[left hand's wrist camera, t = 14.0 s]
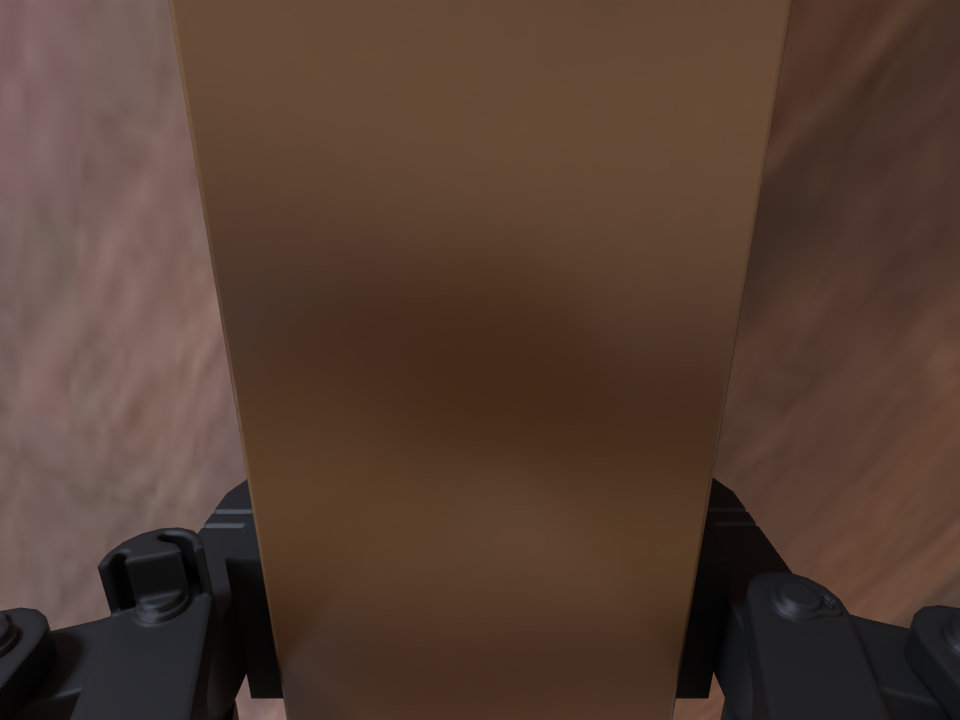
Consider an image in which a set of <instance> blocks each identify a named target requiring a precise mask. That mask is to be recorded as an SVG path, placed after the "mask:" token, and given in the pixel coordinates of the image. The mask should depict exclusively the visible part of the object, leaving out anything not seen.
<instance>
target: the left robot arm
mask: <svg viewBox="0 0 960 720" xmlns="http://www.w3.org/2000/svg"><path fill="white" fill-rule="evenodd" d="M98 570H99V573H100V577H101V580H102V583H103V587H104V590H105V594H106V597H107V601H108V604H109V608H110V611H111V616H110V617H107V618H104V619H101V620H97V621H93V622H89V623H84V624H80V625H76V626H71V627H67V628H63V629H58V630H54V631H51V630H50V627H49V624H48V621H47V618H46V616H44V615H43V614H42V613H41V612H39V611H38V610H36V609H28V608H16V609H10V610H4V611H0V720H239V718H238V711H237V705H236V701H235V698H236V696H237V694H238V691H239V689H240V687H241V685H242V682H243V680H244V678H245V675H246V673H247V678H248V683H249V688H250V693H251V698H283V692H282V686H281V680H280V674H279V668H278V662H277V656H276V650H275V644H274V637H273V631H272V625H271V619H270V613H269V607H268V601H267V595H266V589H265V583H264V577H263V571H262V565H261V559H260V552H259V546H258V540H257V534H256V528H255V522H254V516H253V510H252V504H251V498H250V492H249V486H248V480H245V481H244V482H243V483H241V484H240V485H238V486H237V487H235V488H234V489H233V490H231V491H230V492H228V493H227V494H226V495H225V497H224V498H223V499H222V501H221V502H220V504H219V505H218V506H217V508H216V509H215V512H214V514H212V515H211V516H210V517H209V519H208V520H207V522H206V523H205V524H204V528H202V529H201V530H200V531H199V533H198V534H197V533H196V532H194V531H192V530H188V529H184V528H163V529H158V530H154V531H150V532H147V533H143V534H140V535H138V536H136V537H134V538H131V539H129V540H127V541H125V542H123V543H121V544H120V545H119V546H117V547H116V548H115V549H113V550H112V551H111V552H109V553H108V554H107V555H106V556H105V557H104V559H103V560H102V561H101V563H100V564H99V565H98ZM713 671H714V673H715V676H716V678H717V680H718V683H719V685H720V687H721V689H722V692H723V694H724V696H725V701H724V705H723V710H722V715H721V720H960V608H954V607H948V606H941V605H937V606H929V607H923V608H922V609H920V610H919V611H918V612H917V613H915V614H914V617H913V620H912V623H911V626H910V629H908V628H903V627H899V626H895V625H890V624H886V623H882V622H877V621H873V620H869V619H864V618H861V617H857V616H854V615H851V614H849V613H848V611H847V610H846V608H845V607H844V605H843V604H842V602H841V601H840V599H839V598H837V597H836V596H835V595H834V594H833V593H831V592H830V591H829V590H828V589H827V588H825V587H823V586H822V585H820V584H818V583H816V582H814V581H812V580H810V579H808V578H806V577H802V576H799V575H795V574H793V573H792V572H791V571H790V569H789V568H788V566H787V565H786V564H785V562H784V561H783V560H782V558H781V557H780V555H779V554H778V553H777V551H776V550H775V549H774V547H773V546H772V544H771V543H770V542H769V540H768V539H767V538H766V536H765V535H764V533H763V532H762V531H761V529H760V528H759V527H758V526H756V522H755V521H754V520H753V518H752V517H751V516H750V514H749V513H748V512H746V510H745V507H744V506H743V505H742V503H741V502H740V500H739V499H738V498H737V496H736V495H735V494H734V492H733V491H731V490H730V489H729V488H727V487H726V486H724V485H723V484H721V483H720V482H718V481H717V480H716V479H714V478H713V479H712V485H711V491H710V497H709V503H708V509H707V515H706V521H705V527H704V533H703V539H702V545H701V551H700V557H699V563H698V569H697V575H696V581H695V587H694V593H693V599H692V605H691V611H690V617H689V623H688V629H687V635H686V641H685V646H684V652H683V658H682V664H681V670H680V676H679V682H678V688H677V694H676V698H708V697H709V691H710V686H711V681H712V676H713Z"/></svg>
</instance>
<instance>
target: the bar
mask: <svg viewBox="0 0 960 720" xmlns="http://www.w3.org/2000/svg"><path fill="white" fill-rule="evenodd" d="M169 6H170V12H171V18H172V24H173V30H174V36H175V42H176V48H177V54H178V60H179V67H180V73H181V79H182V85H183V91H184V97H185V103H186V109H187V115H188V121H189V127H190V133H191V139H192V146H193V152H194V158H195V164H196V170H197V176H198V182H199V188H200V194H201V200H202V206H203V212H204V218H205V224H206V231H207V237H208V243H209V249H210V255H211V261H212V267H213V273H214V279H215V285H216V291H217V297H218V303H219V310H220V316H221V322H222V328H223V334H224V340H225V346H226V352H227V358H228V364H229V370H230V376H231V382H232V388H233V395H234V401H235V407H236V413H237V419H238V425H239V431H240V437H241V443H242V449H243V455H244V461H245V467H246V473H247V480H248V486H249V492H250V498H251V504H252V510H253V516H254V522H255V528H256V534H257V540H258V546H259V552H260V559H261V565H262V571H263V577H264V583H265V589H266V595H267V601H268V607H269V613H270V619H271V625H272V631H273V637H274V644H275V650H276V656H277V662H278V668H279V674H280V680H281V686H282V692H283V698H284V704H285V710H286V716H287V720H672V718H673V712H674V706H675V700H676V694H677V688H678V682H679V676H680V670H681V664H682V658H683V652H684V646H685V641H686V635H687V629H688V623H689V617H690V611H691V605H692V599H693V593H694V587H695V581H696V575H697V569H698V563H699V557H700V551H701V545H702V539H703V533H704V527H705V521H706V515H707V509H708V503H709V497H710V491H711V485H712V479H713V473H714V467H715V461H716V455H717V449H718V443H719V437H720V431H721V425H722V419H723V413H724V407H725V401H726V395H727V389H728V383H729V377H730V371H731V365H732V359H733V353H734V347H735V341H736V335H737V329H738V323H739V317H740V311H741V305H742V299H743V293H744V287H745V281H746V275H747V269H748V263H749V257H750V251H751V245H752V239H753V233H754V227H755V221H756V215H757V209H758V203H759V197H760V191H761V185H762V179H763V173H764V167H765V161H766V155H767V149H768V143H769V137H770V131H771V125H772V119H773V113H774V107H775V101H776V95H777V89H778V83H779V77H780V71H781V66H782V60H783V54H784V48H785V42H786V36H787V30H788V24H789V18H790V12H791V6H792V0H169Z"/></svg>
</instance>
